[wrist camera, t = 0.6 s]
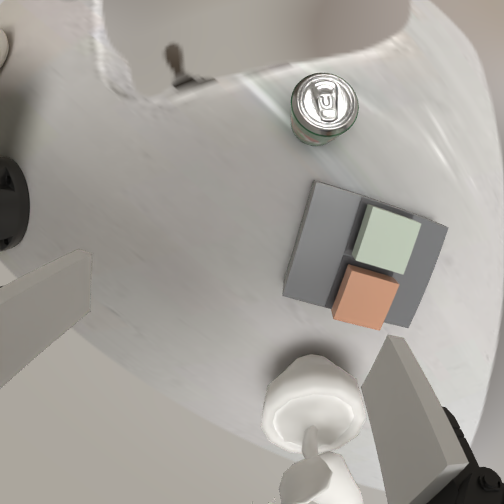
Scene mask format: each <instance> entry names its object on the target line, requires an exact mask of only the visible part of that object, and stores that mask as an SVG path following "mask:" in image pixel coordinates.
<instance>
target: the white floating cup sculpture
mask: <svg viewBox="0 0 504 504" xmlns="http://www.w3.org/2000/svg"><path fill="white" fill-rule="evenodd" d="M365 420H366V414H365V409H364V405H363V401H362V397H361V393H360V390H359V387H358V383H357V380H356V378H355V377H353V376H352V375H350V374H349V373H347V372H346V371H345V370H343V369H342V368H340V367H339V366H336V365H335V364H334V363H333V362H331V361H330V360H329V359H327V358H326V357H324V356H320V355H313V354H309V355H306V356H303V357H299V358H297V359H296V360H295V361H294V362H293V363H292V364H290V365H289V366H288V368H287V369H286V370H285V371H284V372H283V373H282V374H280V375H279V376H278V377H277V378H276V379H275V380H274V381H273V382H271V383H270V384H269V385H268V387H267V392H266V396H265V401H264V406H263V413H262V420H261V428H262V430H263V431H264V433H265V435H266V436H267V438H268V440H269V441H270V443H272V444H274V445H276V446H278V447H280V448H282V449H284V450H286V451H288V452H291V453H300V454H303V455H304V457H305V459H303V460H301V461H298V462H296V463H294V464H293V465H292V466H291V467H290V468H289V469H288V470H287V471H285V472H284V474H283V477H282V480H281V483H280V487H279V492H280V497H281V504H308V503H309V502H311V501H314V502H316V503H318V504H363V499H362V494H361V490H360V489H359V487H358V486H357V484H356V482H355V480H354V479H353V477H352V475H351V473H350V471H349V469H348V467H347V465H346V463H345V460H344V458H343V456H342V455H340V454H337V453H334V452H331V451H332V450H336V449H339V448H341V447H342V446H344V445H345V444H346V443H348V442H349V441H351V440H352V439H354V438H355V437H357V436H358V434H359V432H360V430H361V428H362V426H363V424H364V422H365ZM324 452H325V453H324ZM319 453H322V454H319ZM318 454H319V455H318ZM268 503H269V504H276V503H275V498H274V499H273V501H272V502H268ZM252 504H253V502H252Z"/></svg>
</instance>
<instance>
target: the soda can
mask: <svg viewBox="0 0 504 504" xmlns="http://www.w3.org/2000/svg"><path fill="white" fill-rule="evenodd" d="M358 109H359V105H358V99H357V96H356V94H355V92H354V90H353V88H352V87H351V86H350V85H349V84H348V83H347V82H346V81H345V80H343V79H342V78H340V77H338V76H336V75H333V74H329V73H315V74H312V75H309V76H307V77H305V78H304V79H302V80H301V81H300V82H299V83H298V84H297V85H296V87H295V88H294V91H293V93H292V97H291V127H292V130H293V132H294V134H295V136H296V137H297V138H298V139H299V140H300V141H302V142H303V143H305V144H307V145H311V146H321V145H324V144H327V143H329V142H330V141H332V140H333V139H335V138H336V137H338V136H339V135H341V134H342V133H344V132H346V131H347V130H348V129H349V128H350V127H351V126H352V125H353V124H354V122H355V120H356V118H357V115H358Z"/></svg>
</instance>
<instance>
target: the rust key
mask: <svg viewBox="0 0 504 504" xmlns="http://www.w3.org/2000/svg"><path fill="white" fill-rule="evenodd" d="M399 285H400V284H399V283H398V282H397V281H396V280H395V279H394V277H391V276H387V275H384V274H380V273H377V272H374V271H370V270H367V269H363V268H360V267H357V266H353V265H350V264H348V266H347V269H346V272H345V274H344V277H343V280H342V283H341V285H340V288H339V291H338V294H337V296H336V299H335V302H334V304H333V307H332V309H331V311H332V315H333V319H335V320H339V321H343V322H347V323H351V324H355V325H359V326H363V327H367V328H372V329H376V330H380V329H381V327H382V324H383V322H384V320H385V318H386V315H387V313H388V311H389V309H390V306H391V304H392V302H393V299H394V297H395V294H396V292H397V290H398V287H399Z"/></svg>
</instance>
